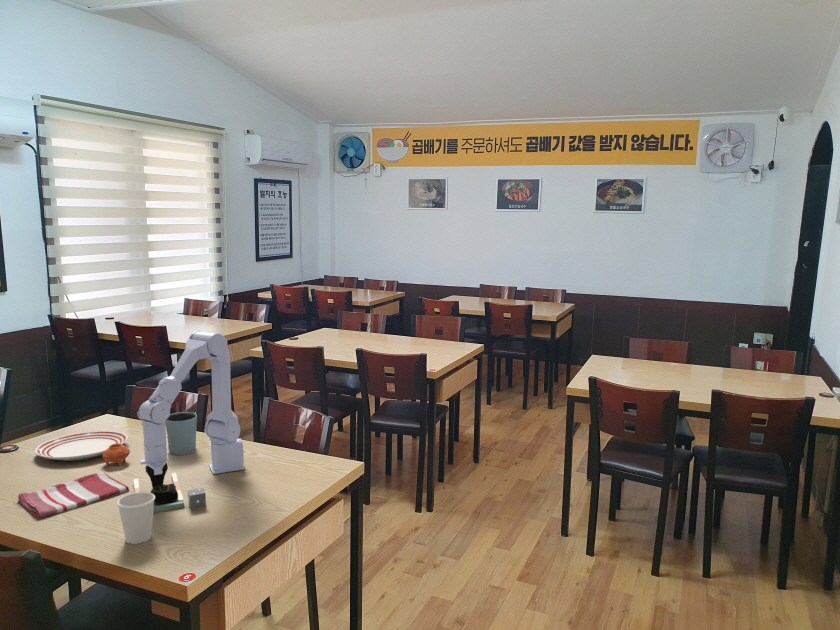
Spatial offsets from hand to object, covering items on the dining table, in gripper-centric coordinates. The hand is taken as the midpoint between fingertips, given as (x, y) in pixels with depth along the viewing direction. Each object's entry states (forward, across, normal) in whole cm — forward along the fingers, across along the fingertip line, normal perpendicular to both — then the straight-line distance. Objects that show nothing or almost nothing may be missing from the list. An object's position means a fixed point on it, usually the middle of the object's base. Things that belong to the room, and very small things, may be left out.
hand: (157, 490), depth 175 cm
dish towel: (+2, -10, -21) cm, 23 cm away
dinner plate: (+2, -49, -20) cm, 53 cm away
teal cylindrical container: (+2, -35, +10) cm, 36 cm away
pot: (+2, -32, -10) cm, 34 cm away
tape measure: (+2, +4, +2) cm, 5 cm away
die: (+2, +11, +9) cm, 14 cm away
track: (+2, -1, 0) cm, 2 cm away
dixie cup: (+2, +24, -6) cm, 25 cm away
